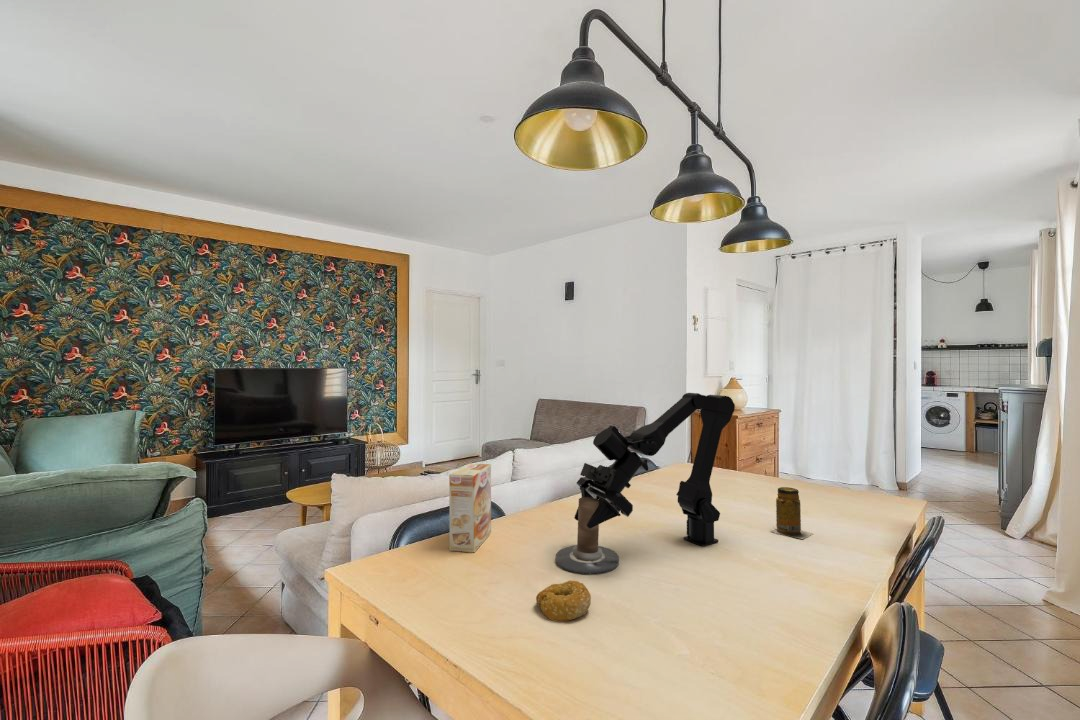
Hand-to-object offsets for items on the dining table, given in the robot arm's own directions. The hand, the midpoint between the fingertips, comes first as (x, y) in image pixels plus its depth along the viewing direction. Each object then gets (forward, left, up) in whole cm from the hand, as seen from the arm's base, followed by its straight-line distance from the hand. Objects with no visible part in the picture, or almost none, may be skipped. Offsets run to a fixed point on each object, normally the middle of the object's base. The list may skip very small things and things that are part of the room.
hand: (581, 523), depth 116 cm
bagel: (-16, +16, -10) cm, 25 cm away
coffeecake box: (+27, +17, -9) cm, 33 cm away
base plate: (0, -1, -9) cm, 9 cm away
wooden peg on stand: (0, -1, -8) cm, 8 cm away
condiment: (-14, -61, -9) cm, 63 cm away
